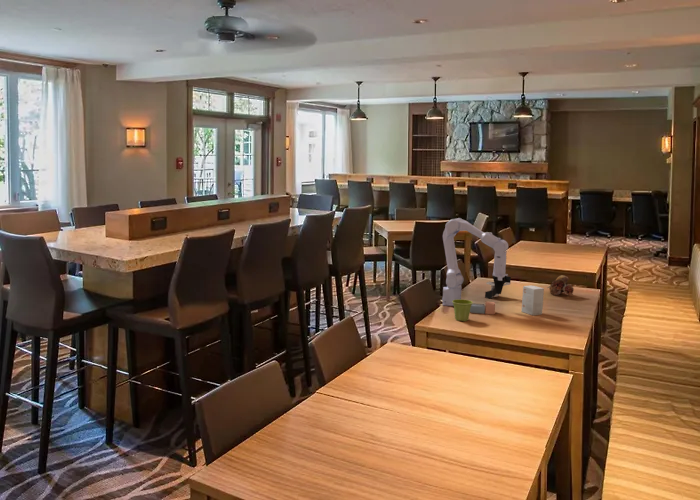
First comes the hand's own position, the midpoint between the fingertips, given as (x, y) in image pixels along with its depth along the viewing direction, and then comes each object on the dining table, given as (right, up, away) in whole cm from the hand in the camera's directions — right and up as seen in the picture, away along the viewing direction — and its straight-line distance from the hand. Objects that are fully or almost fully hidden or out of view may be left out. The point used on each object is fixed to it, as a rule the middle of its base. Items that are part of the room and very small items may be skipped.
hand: (497, 292), depth 303 cm
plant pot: (-21, -12, -16) cm, 29 cm away
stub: (-5, -10, -2) cm, 11 cm away
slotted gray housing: (-11, -10, -1) cm, 15 cm away
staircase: (+7, -6, +30) cm, 32 cm away
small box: (+16, -10, -1) cm, 19 cm away
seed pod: (+44, -5, +42) cm, 61 cm away
